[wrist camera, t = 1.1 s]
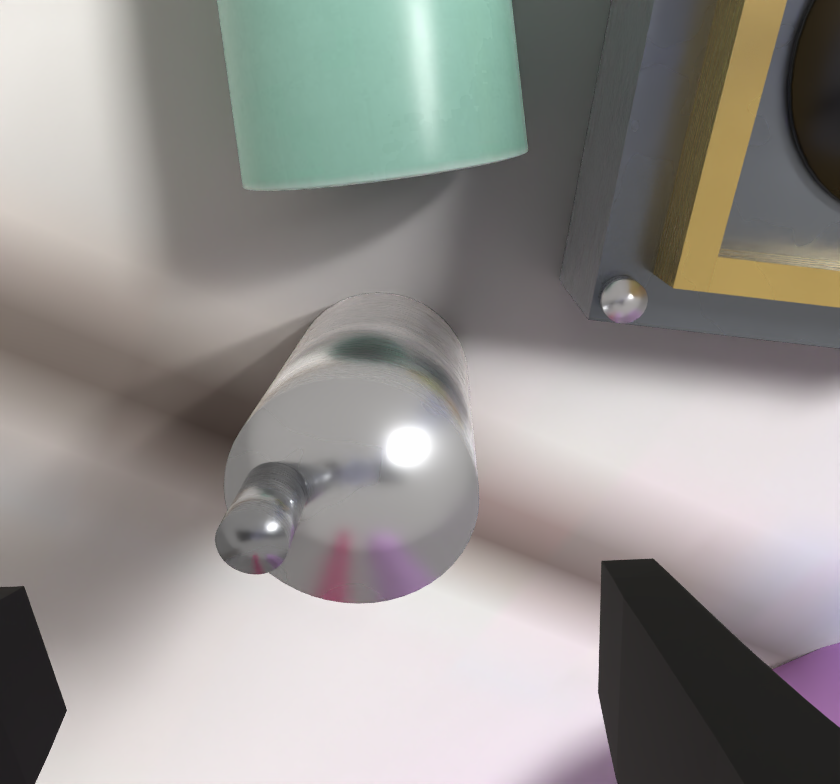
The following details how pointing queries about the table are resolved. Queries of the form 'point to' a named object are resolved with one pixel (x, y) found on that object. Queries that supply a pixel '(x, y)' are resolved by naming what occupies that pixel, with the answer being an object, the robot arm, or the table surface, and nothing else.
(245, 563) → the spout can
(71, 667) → the table surface
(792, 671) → the container set
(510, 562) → the table surface
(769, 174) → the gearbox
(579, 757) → the table surface
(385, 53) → the mint green cylinder
